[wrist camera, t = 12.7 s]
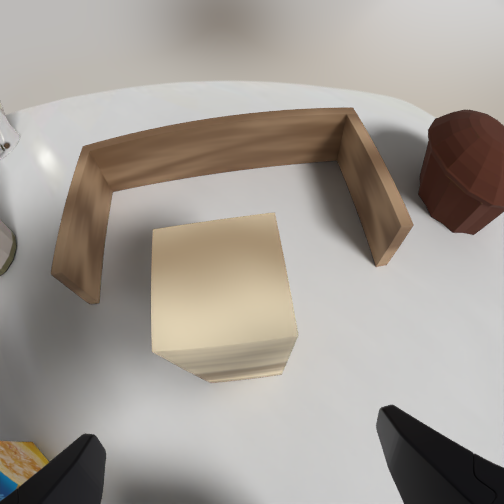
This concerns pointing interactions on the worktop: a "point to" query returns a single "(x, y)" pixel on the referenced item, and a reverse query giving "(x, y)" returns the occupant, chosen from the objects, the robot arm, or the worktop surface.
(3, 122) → the beer glass
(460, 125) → the muffin
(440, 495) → the robot arm
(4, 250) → the bottle
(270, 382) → the worktop surface
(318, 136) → the u-shaped wooden wall
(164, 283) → the ash block
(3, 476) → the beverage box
